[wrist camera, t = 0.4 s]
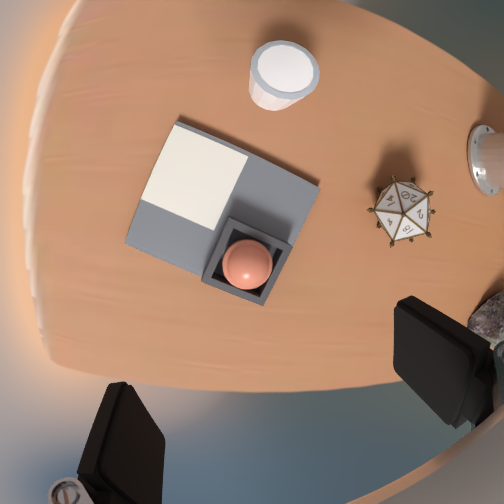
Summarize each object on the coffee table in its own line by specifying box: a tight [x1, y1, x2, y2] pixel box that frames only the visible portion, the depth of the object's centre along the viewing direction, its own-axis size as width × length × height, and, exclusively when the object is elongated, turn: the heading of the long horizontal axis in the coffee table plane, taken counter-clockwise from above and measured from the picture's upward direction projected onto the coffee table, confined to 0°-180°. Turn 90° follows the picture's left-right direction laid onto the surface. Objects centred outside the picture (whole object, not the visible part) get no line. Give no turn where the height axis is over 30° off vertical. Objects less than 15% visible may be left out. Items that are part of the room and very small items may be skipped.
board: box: [125, 121, 320, 306], centre depth 31 cm, size 18×15×4 cm
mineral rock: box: [468, 291, 504, 348], centre depth 38 cm, size 13×11×10 cm
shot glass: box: [249, 40, 319, 111], centre depth 26 cm, size 7×7×7 cm
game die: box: [367, 175, 436, 248], centre depth 31 cm, size 9×8×10 cm
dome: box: [222, 238, 272, 289], centre depth 30 cm, size 5×5×4 cm
